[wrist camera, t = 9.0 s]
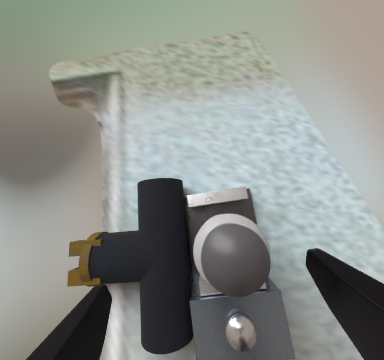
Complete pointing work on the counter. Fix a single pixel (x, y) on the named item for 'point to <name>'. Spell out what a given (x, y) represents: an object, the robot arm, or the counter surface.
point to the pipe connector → (147, 264)
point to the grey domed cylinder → (232, 255)
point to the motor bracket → (233, 306)
